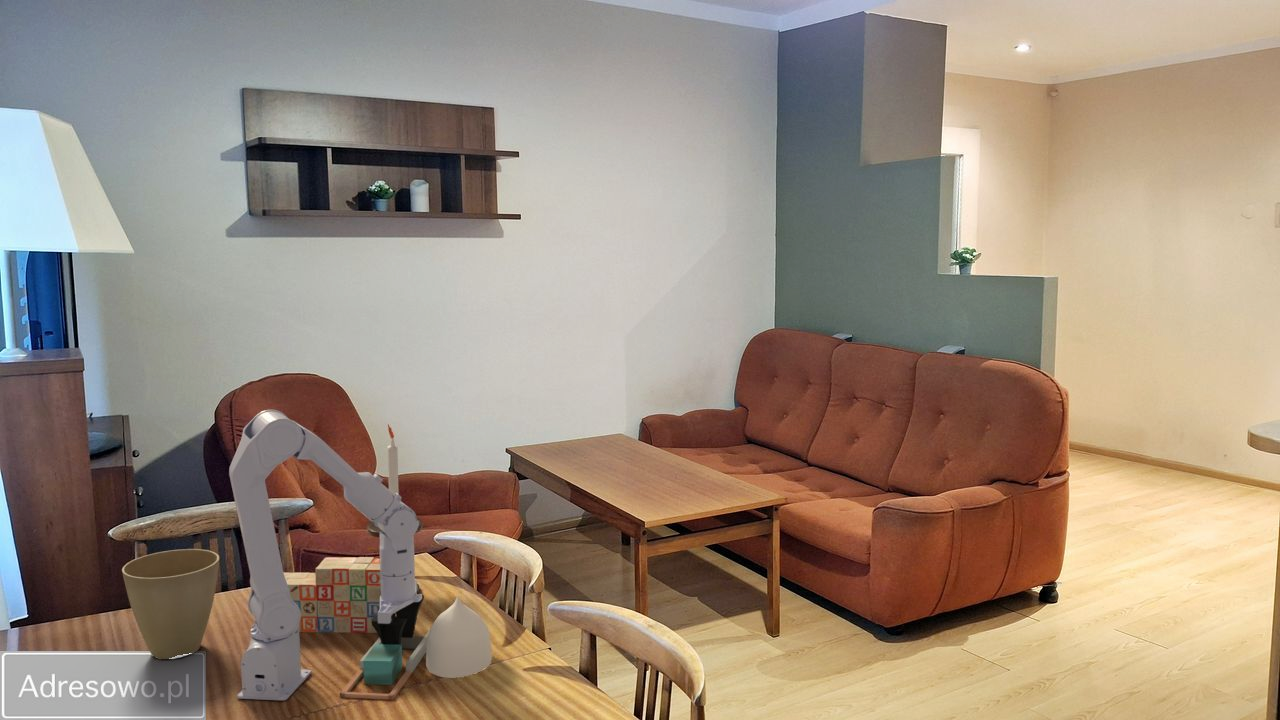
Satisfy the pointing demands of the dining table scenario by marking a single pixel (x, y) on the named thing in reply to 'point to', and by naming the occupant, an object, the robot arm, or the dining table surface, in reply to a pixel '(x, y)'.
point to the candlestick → (391, 485)
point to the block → (382, 664)
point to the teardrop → (458, 643)
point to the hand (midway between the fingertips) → (399, 646)
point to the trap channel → (420, 649)
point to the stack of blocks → (338, 595)
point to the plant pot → (172, 598)
